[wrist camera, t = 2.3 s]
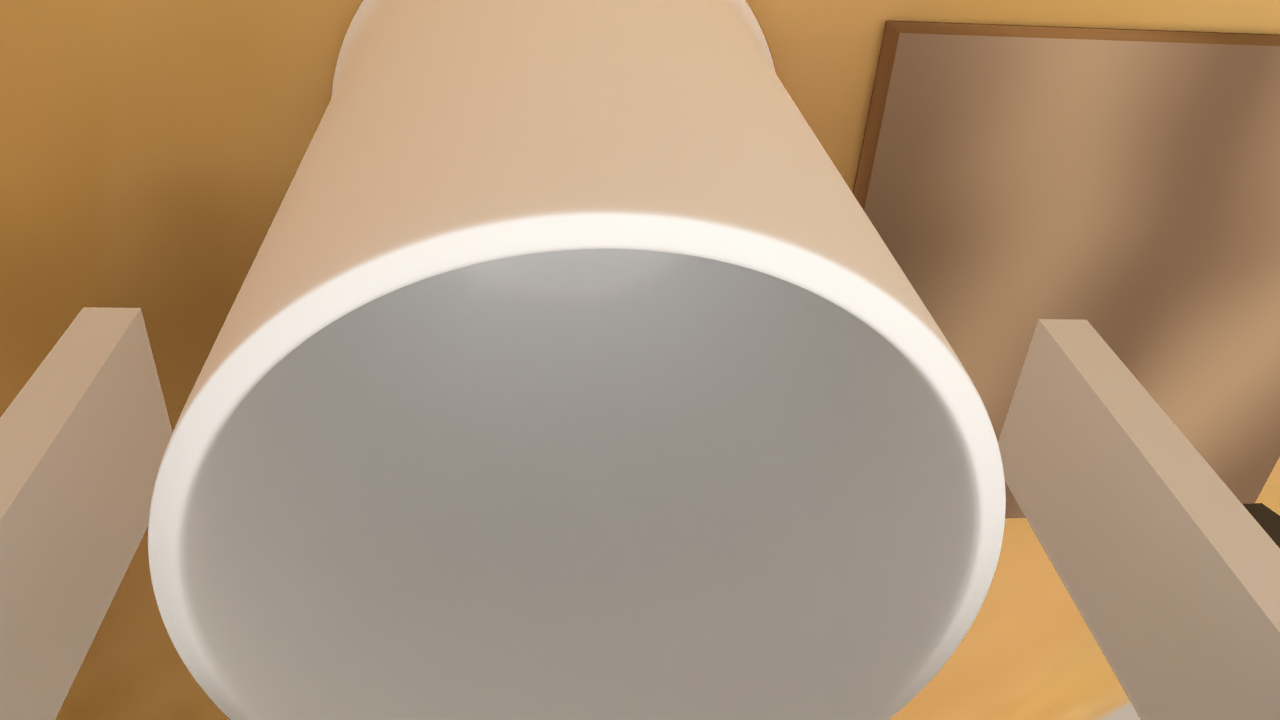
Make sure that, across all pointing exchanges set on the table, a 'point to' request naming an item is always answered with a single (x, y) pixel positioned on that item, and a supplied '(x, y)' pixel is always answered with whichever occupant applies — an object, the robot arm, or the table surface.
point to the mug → (572, 399)
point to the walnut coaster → (1093, 211)
